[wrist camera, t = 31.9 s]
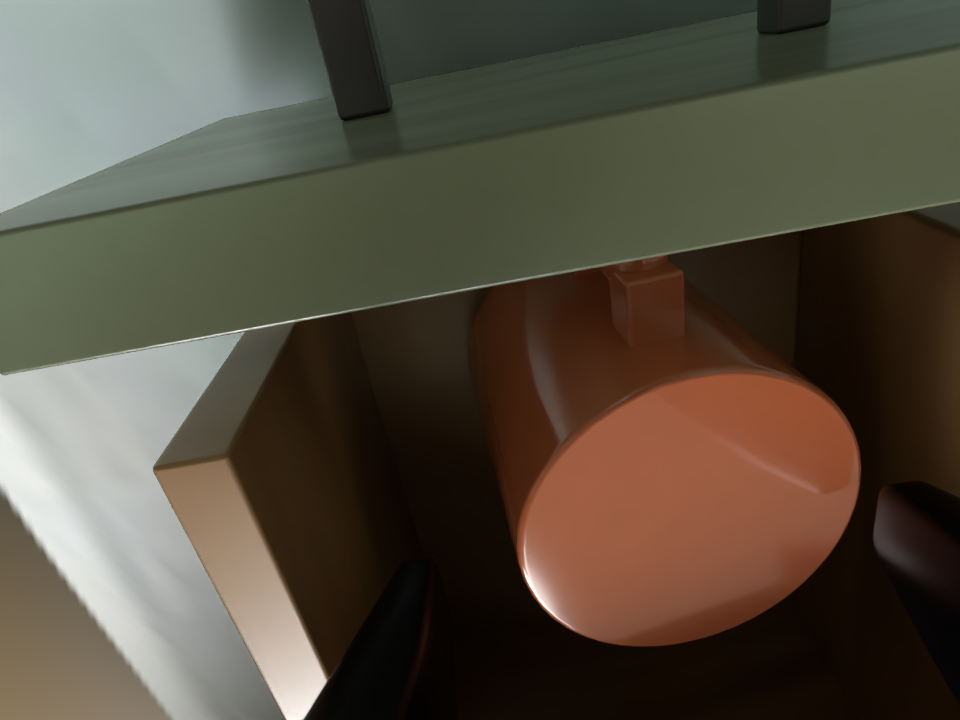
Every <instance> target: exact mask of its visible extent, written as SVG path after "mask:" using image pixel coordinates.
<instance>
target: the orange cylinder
mask: <svg viewBox="0 0 960 720" xmlns="http://www.w3.org/2000/svg"><path fill="white" fill-rule="evenodd" d="M468 368H469V375H470V379H471V383H472V387H473V391H474V395H475V399H476V402H477V406H478V410H479V414H480V418H481V422H482V426H483V429H484V433H485V437H486V441H487V445H488V449H489V453H490V456H491V460H492V464H493V468H494V472H495V476H496V480H497V483H498V487H499V491H500V495H501V499H502V503H503V507H504V510H505V514H506V518H507V522H508V526H509V530H510V534H511V537H512V541H513V545H514V549H515V553H516V557H517V561H518V564H519V567H520V571H521V574H522V577H523V580H524V582H525V584H526V586H527V587H528V589H529V591H530V593H531V595H532V596H533V597H534V598H535V600H536V601H537V602H538V604H539V605H540V606H541V607H542V608H543V609H544V610H545V611H546V612H547V613H548V614H549V615H550V616H551V617H552V618H553V619H555V620H556V621H557V622H559V623H560V624H562V625H563V626H565V627H566V628H568V629H569V630H572V631H574V632H576V633H578V634H580V635H582V636H584V637H587V638H590V639H593V640H596V641H600V642H604V643H609V644H614V645H619V646H632V647H658V646H667V645H676V644H681V643H686V642H691V641H696V640H699V639H703V638H706V637H710V636H713V635H716V634H719V633H721V632H724V631H727V630H729V629H732V628H734V627H737V626H739V625H741V624H743V623H745V622H747V621H749V620H751V619H753V618H755V617H757V616H758V615H760V614H762V613H763V612H765V611H767V610H769V609H770V608H772V607H773V606H775V605H776V604H778V603H779V602H780V601H782V600H783V599H785V598H786V597H788V596H789V595H790V594H791V593H792V592H794V591H795V590H796V589H797V588H798V587H800V586H801V585H802V584H803V583H804V582H805V581H806V580H807V579H808V578H809V577H810V576H811V575H812V574H813V573H814V572H815V571H816V570H817V569H818V568H819V567H820V566H821V565H822V563H823V562H824V561H825V560H826V559H827V557H828V556H829V555H830V554H831V552H832V551H833V549H834V548H835V546H836V545H837V543H838V542H839V540H840V539H841V537H842V536H843V534H844V532H845V530H846V528H847V526H848V524H849V522H850V520H851V517H852V514H853V512H854V509H855V506H856V503H857V500H858V495H859V490H860V485H861V470H862V465H861V457H860V449H859V446H858V443H857V439H856V436H855V433H854V430H853V428H852V426H851V424H850V422H849V420H848V418H847V417H846V415H845V413H844V412H843V411H842V409H841V408H840V407H839V406H838V404H837V403H836V402H835V401H834V400H833V399H832V398H831V397H830V396H829V395H828V394H826V393H825V392H824V391H823V390H822V389H820V388H819V387H818V386H817V385H816V384H814V383H813V382H812V381H811V380H809V379H808V378H807V377H806V376H805V375H803V374H802V373H801V372H800V371H798V370H797V369H796V368H795V367H794V366H792V365H791V364H790V363H789V362H787V361H786V360H785V359H784V358H783V357H781V356H780V355H779V354H778V353H776V352H775V351H774V350H773V349H771V348H770V347H769V346H768V345H767V344H765V343H764V342H763V341H762V340H760V339H759V338H758V337H757V336H756V335H754V334H753V333H752V332H751V331H749V330H748V329H747V328H746V327H745V326H743V325H742V324H741V323H740V322H738V321H737V320H736V319H735V318H733V317H732V316H731V315H730V314H729V313H727V312H726V311H725V310H724V309H722V308H721V307H720V306H719V305H718V304H716V303H715V302H714V301H713V300H711V299H710V298H709V297H708V296H706V295H705V294H704V293H703V292H702V291H700V290H699V289H698V288H697V287H695V286H694V285H693V284H692V283H691V282H689V281H688V280H687V279H686V278H684V273H683V271H682V270H681V269H680V268H679V267H678V266H676V265H675V264H674V263H673V262H671V261H670V254H669V255H663V256H658V257H652V258H647V259H641V260H636V261H630V262H625V263H619V264H614V265H608V266H603V267H597V268H592V269H586V270H581V271H575V272H570V273H564V274H559V275H553V276H547V277H542V278H536V279H531V280H525V281H520V282H514V283H509V284H503V285H498V286H494V287H493V289H492V290H491V291H490V292H489V294H488V295H487V297H486V299H485V300H484V302H483V303H482V305H481V307H480V309H479V311H478V313H477V315H476V318H475V320H474V323H473V326H472V330H471V333H470V338H469V344H468Z"/></svg>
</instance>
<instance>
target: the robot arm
mask: <svg viewBox="0 0 960 720" xmlns="http://www.w3.org/2000/svg"><path fill="white" fill-rule="evenodd" d="M873 545H874V550H875V552H876V555H877V557H878V559H879V561H880V563H881V565H882V567H883V569H884V571H885V572H886V574H887V576H888V578H889V580H890V582H891V584H892V585H893V587H894V589H895V591H896V593H897V595H898V597H899V598H900V600H901V602H902V604H903V606H904V608H905V610H906V612H907V613H908V615H909V617H910V619H911V621H912V623H913V625H914V626H915V628H916V630H917V632H918V634H919V636H920V638H921V639H922V641H923V643H924V645H925V647H926V649H927V651H928V652H929V654H930V656H931V658H932V660H933V662H934V663H935V665H936V667H937V669H938V670H939V672H940V674H941V676H942V677H943V679H944V681H945V683H946V684H947V686H948V687H949V689H950V690H951V692H952V693H953V695H954V697H955V698H956V700H957V701H958V703H959V704H960V497H957V496H955V495H953V494H951V493H949V492H946V491H944V490H942V489H940V488H938V487H935V486H933V485H931V484H929V483H926V482H923V481H908V482H901V483H895V484H889V485H886V486H884V487H883V488H882V489H881V490H880V492H879V496H878V501H877V508H876V515H875V522H874V529H873ZM303 720H458V718H457V702H456V685H455V668H454V652H453V635H452V620H451V612H450V607H449V602H448V599H447V595H446V592H445V588H444V585H443V582H442V578H441V575H440V571H439V568H438V565H437V563H436V561H435V560H434V559H432V558H422V559H416V560H410V561H405V562H403V563H401V564H400V565H399V567H398V568H397V570H396V571H395V573H394V574H393V576H392V578H391V579H390V581H389V582H388V584H387V586H386V587H385V589H384V590H383V592H382V594H381V595H380V597H379V598H378V600H377V602H376V603H375V605H374V607H373V608H372V610H371V611H370V613H369V615H368V616H367V618H366V619H365V621H364V623H363V624H362V626H361V627H360V629H359V631H358V632H357V634H356V635H355V637H354V639H353V640H352V642H351V643H350V645H349V647H348V648H347V650H346V652H345V653H344V655H343V656H342V658H341V660H340V661H339V663H338V664H337V666H336V668H335V669H334V671H333V672H332V674H331V676H330V677H329V679H328V680H327V682H326V684H325V685H324V687H323V689H322V690H321V692H320V693H319V695H318V697H317V698H316V700H315V701H314V703H313V705H312V706H311V708H310V709H309V711H308V713H307V714H306V716H305V717H304V719H303Z"/></svg>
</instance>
